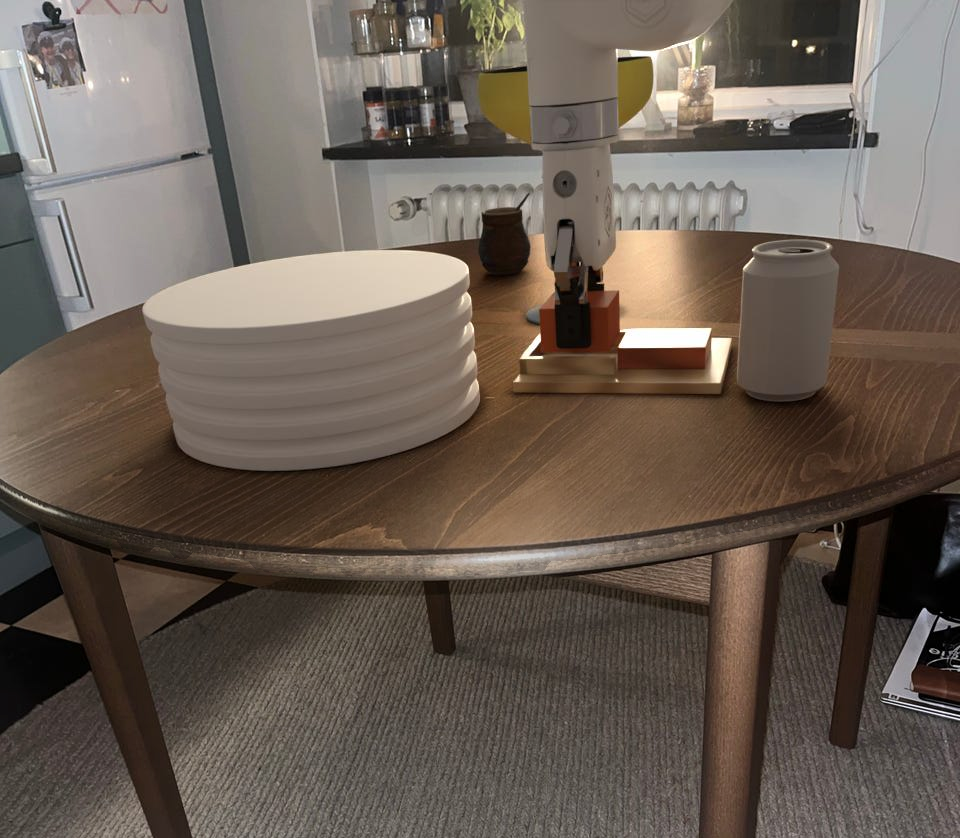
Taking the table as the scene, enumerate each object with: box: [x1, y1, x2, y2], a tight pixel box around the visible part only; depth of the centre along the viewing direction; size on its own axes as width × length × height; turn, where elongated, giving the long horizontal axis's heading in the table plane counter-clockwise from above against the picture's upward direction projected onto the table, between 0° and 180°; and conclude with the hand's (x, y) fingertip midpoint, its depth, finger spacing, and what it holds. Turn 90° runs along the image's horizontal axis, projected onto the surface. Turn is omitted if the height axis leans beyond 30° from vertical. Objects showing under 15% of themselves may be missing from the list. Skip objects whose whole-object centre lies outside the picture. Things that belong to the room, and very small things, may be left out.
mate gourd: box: [477, 192, 531, 276], centre depth 133 cm, size 7×8×10 cm
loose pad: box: [539, 289, 621, 352], centre depth 92 cm, size 6×6×4 cm
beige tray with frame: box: [512, 327, 733, 395], centre depth 93 cm, size 19×14×3 cm
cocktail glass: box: [477, 55, 655, 325], centre depth 106 cm, size 18×18×25 cm
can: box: [736, 239, 840, 403], centre depth 81 cm, size 8×8×12 cm
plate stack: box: [141, 249, 481, 472], centre depth 87 cm, size 28×28×12 cm
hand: (581, 334), depth 93 cm, fingers closed on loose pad, 6 cm apart
